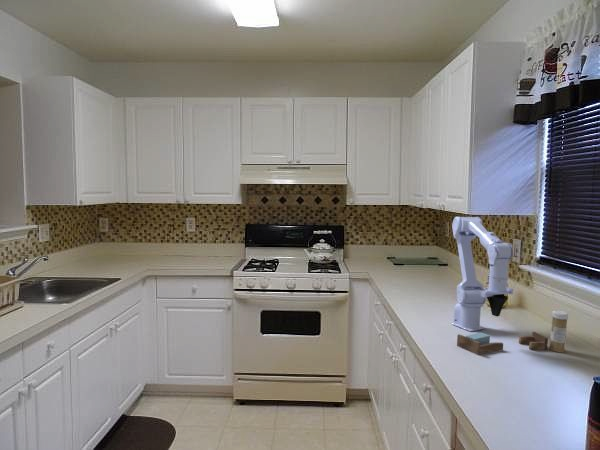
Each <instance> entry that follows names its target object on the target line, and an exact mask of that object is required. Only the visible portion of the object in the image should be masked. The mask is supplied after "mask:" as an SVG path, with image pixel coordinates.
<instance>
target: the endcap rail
mask: <svg viewBox="0 0 600 450" xmlns="http://www.w3.org/2000/svg"><path fill="white" fill-rule="evenodd" d="M456 342H457V343H456V347H458V348H461V349H463V350H465V351H468V352H470V353H473V354H475V355H477V356H478V355H482V354H485V353H490V352H491V353H492V352H495V351H496V352H498V351H499V350H504V343H503V342H499V341H498V342H497V341H495V342H493V341H492V342H490V343H488V344H484V345H480V342H478V341H475V340H473V339H470V338H468V337H466V335H463V334H459V333H458V334H457V340H456ZM494 350H495V351H494ZM497 350H498V351H497Z"/></svg>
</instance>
